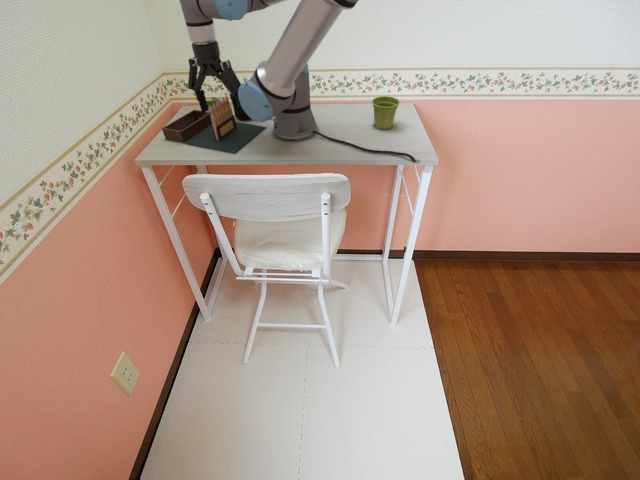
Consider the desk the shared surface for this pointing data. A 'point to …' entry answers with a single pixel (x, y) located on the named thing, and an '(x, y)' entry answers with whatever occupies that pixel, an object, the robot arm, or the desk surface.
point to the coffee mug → (244, 116)
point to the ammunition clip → (222, 119)
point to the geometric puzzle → (212, 103)
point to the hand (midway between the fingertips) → (221, 113)
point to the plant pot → (384, 111)
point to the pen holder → (187, 126)
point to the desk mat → (227, 138)
